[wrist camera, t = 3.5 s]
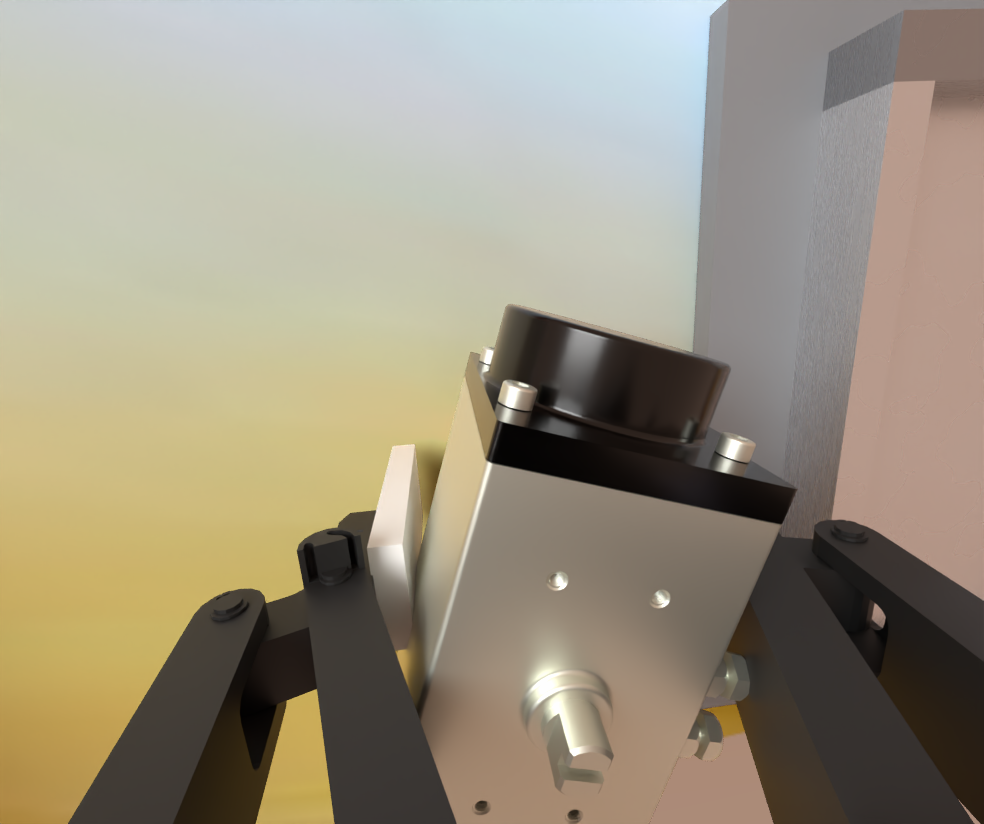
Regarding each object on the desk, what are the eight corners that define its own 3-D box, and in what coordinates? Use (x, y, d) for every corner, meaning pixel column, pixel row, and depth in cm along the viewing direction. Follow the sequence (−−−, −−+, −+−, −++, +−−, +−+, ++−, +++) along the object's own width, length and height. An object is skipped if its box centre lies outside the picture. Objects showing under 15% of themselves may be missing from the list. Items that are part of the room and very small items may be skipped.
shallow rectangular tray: (760, 674, 21) (802, 725, 19) (828, 52, 15) (904, 9, 13) (1017, 636, 22) (1086, 680, 20) (1181, 43, 16) (1312, 2, 14)
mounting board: (675, 692, 22) (686, 711, 21) (710, 15, 15) (728, -2, 14) (1047, 637, 24) (1073, 652, 23) (1235, 6, 17) (1283, -9, 16)
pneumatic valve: (398, 586, 19) (338, 1042, 8) (472, 289, 17) (545, 320, 5) (532, 608, 20) (653, 1047, 9) (623, 330, 18) (972, 434, 6)
